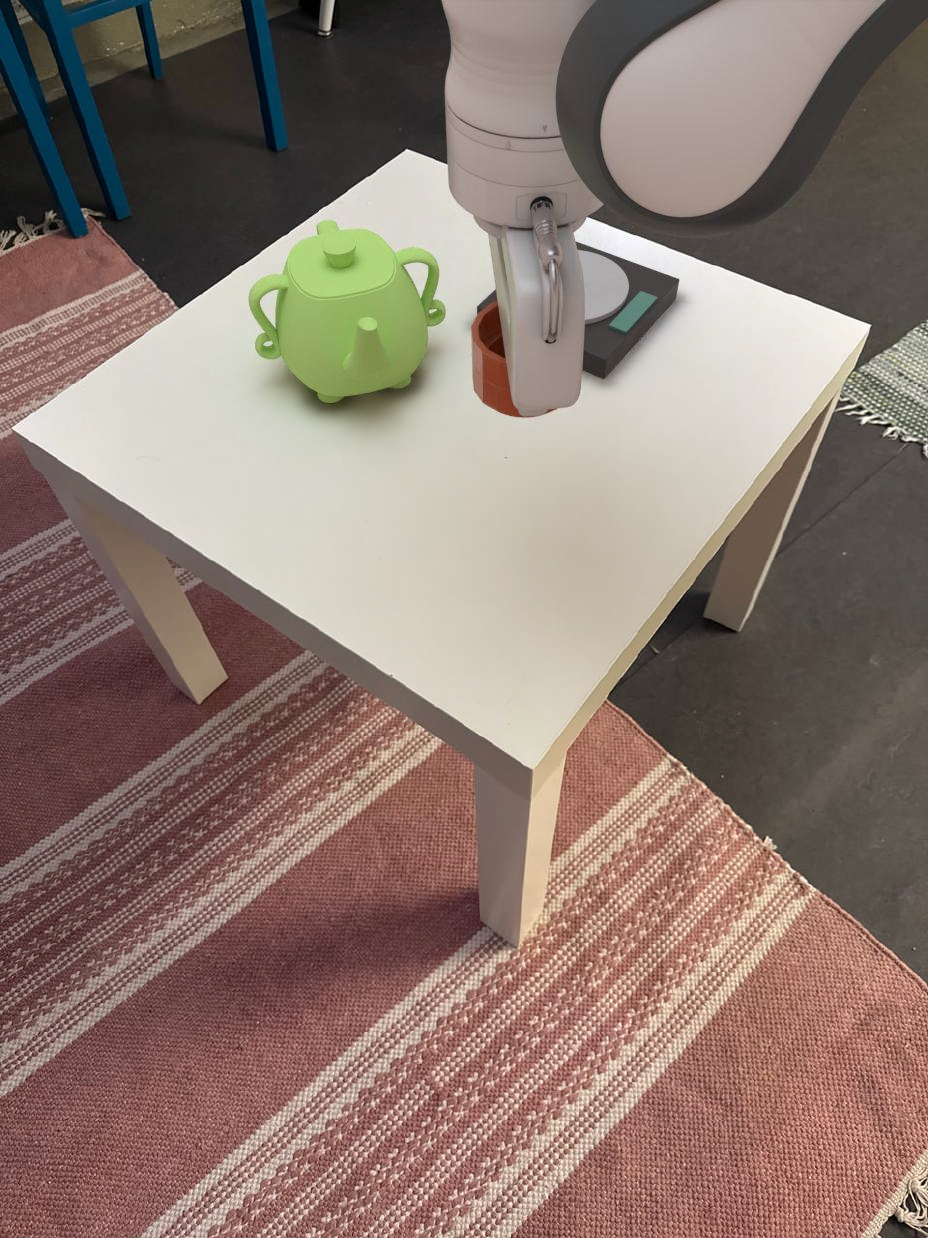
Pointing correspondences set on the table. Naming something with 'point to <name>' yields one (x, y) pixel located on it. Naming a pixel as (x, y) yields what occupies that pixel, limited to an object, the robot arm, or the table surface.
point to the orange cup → (491, 363)
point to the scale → (615, 306)
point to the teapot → (348, 312)
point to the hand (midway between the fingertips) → (524, 364)
